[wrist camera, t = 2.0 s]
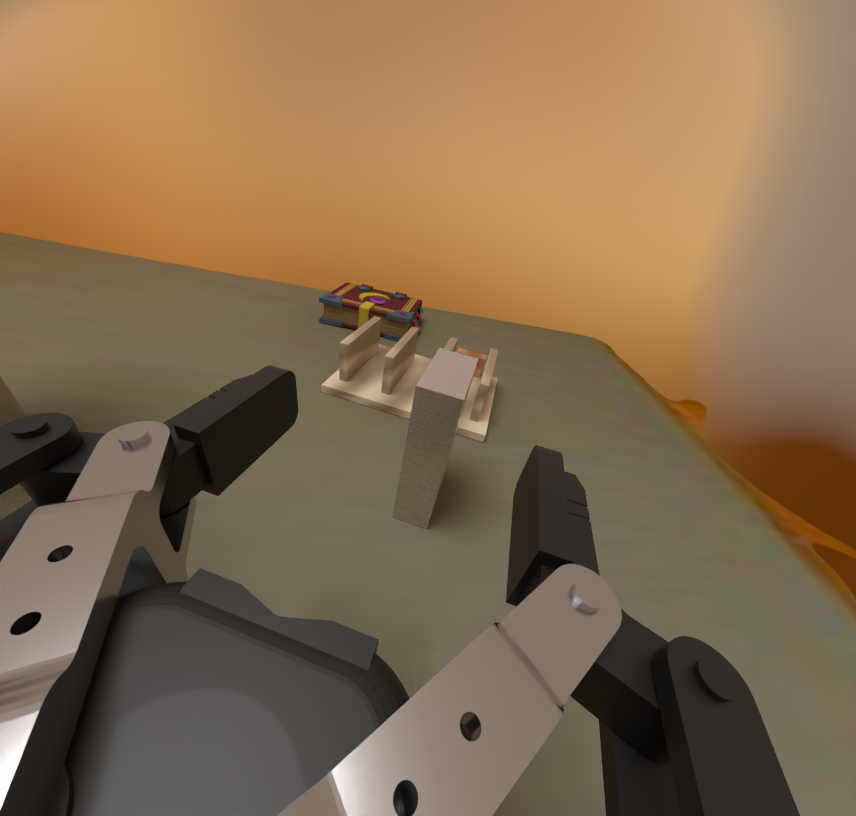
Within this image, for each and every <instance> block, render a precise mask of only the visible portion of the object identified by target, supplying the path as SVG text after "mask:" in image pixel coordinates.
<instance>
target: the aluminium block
mask: <svg viewBox="0 0 856 816" xmlns="http://www.w3.org/2000/svg"><path fill="white" fill-rule="evenodd" d="M477 362H478V358H475V357H471V356H468V355H464V354H461V353H457V352H454V351H450V350H447V349H443V348H439V349H438V351H437V353H436V354H435V356H434V357H433V359H432V361H431V362H430V364H429V365H428V367H427V369H426V370H425V372H424V373H423V375H422V377H421V378H420V380H419V381H418V383H417V385H416V387H415V393H414V399H413V404H412V410H411V416H410V421H409V427H408V432H407V438H406V444H405V449H404V455H403V461H402V466H401V472H400V477H399V483H398V489H397V494H396V500H395V506H394V511H393V517H394V518H397V519H399V520H402V521H405V522H408V523H411V524H414V525H416V526H419V527H422V528H425V529H427V527H428V524H429V521H430V518H431V515H432V512H433V509H434V506H435V502H436V499H437V496H438V493H439V490H440V487H441V484H442V481H443V478H444V474H445V471H446V468H447V464H448V461H449V457H450V454H451V451H452V447H453V444H454V440H455V437H456V434H457V430H458V427H459V423H460V420H461V417H462V413H463V410H464V406H465V403H466V400H467V396H468V393H469V389H470V386H471V383H472V379H473V376H474V372H475V369H476V366H477Z"/></svg>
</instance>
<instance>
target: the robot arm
mask: <svg viewBox="0 0 856 816" xmlns="http://www.w3.org/2000/svg"><path fill="white" fill-rule="evenodd" d="M297 415H298V402H297V390H296V378H295V375H294V373H293V372H291V371H288V370H285V369H281V368H278V367H274V366H271V365H269V366H266V367H264V368H263V369H261V370H260V371H258V372H257V373H255V374H253V375H250V376H246V377H243V378H240V379H237V380H234V381H232V382H230V383H229V384H227V385H225V386H224V387H222V388H220V391H218V390H217V391H216V392H214V393H212V394H211V395H209V397H208V398H207V397H206V398H204V399H202V400H201V401H199V402H197V403H196V404H194V405H192V406H191V407H189V408H188V409H186V410H184V411H183V412H181V413H179V414H178V415H176V416H174V417H173V418H171V419H169V420H168V421H166V422H164V423H160V422H155V421H140V422H134V423H129V424H126V425H123V426H120V427H118V428H115V429H113V430H112V431H110V432H108V433H107V434H102V433H87V432H79V430H78V429H77V427H76V425H75V424H74V422H73V420H72V419H71V418H70V417H69V416H67V415H64V414H58V413H44V414H36V415H31V416H27V415H26V413H25V412H24V410H23V409H22V407H21V406H20V404H19V403H18V401H17V400H16V399H15V397H14V396H13V394H12V392H11V391H10V389H9V388H8V386H7V385H6V384H5V382H4V381H3V379H2V378H1V376H0V494H2V493H3V492H5V491H7V490H8V489H10V488H12V487H14V486H15V485H17V484H19V483H20V485H21V486H22V487H23V488H24V489H25V491H26V492H27V493H28V494H29V496H30V497H31V498H32V499H33V500H32V501H30V502H29V503H27V504H25V505H24V506H22V507H21V508H19V509H18V510H16V511H15V512H13V513H11V514H10V515H8V516H7V517H5V518H4V519H2V520H1V521H0V816H492V815H493V814H494V812H495V811H496V810H497V808H498V807H499V805H500V804H501V802H502V801H503V800H504V798H505V797H506V795H507V794H508V793H509V791H510V790H511V788H512V787H513V786H514V784H515V783H516V781H517V780H518V779H519V777H520V776H521V774H522V773H523V771H524V770H525V769H526V767H527V766H528V764H529V763H530V762H531V760H532V759H533V757H534V756H535V755H536V753H537V752H538V750H539V749H540V748H541V746H542V745H543V743H544V742H545V740H546V739H547V738H548V736H549V735H550V733H551V732H552V731H553V729H554V728H555V726H556V725H557V723H558V722H559V720H560V718H561V716H562V714H563V712H564V709H563V706H564V704H565V702H566V701H567V699H568V698H569V696H571V697H572V698H573V699H575V700H576V701H577V702H578V703H580V704H581V705H582V706H583V707H585V708H586V709H587V710H588V711H589V712H591V713H592V714H593V715H594V716H596V717H597V718H598V719H599V727H600V740H601V753H602V766H603V780H604V793H605V806H606V816H800V815H799V812H798V810H797V807H796V804H795V802H794V799H793V797H792V794H791V792H790V789H789V787H788V784H787V781H786V779H785V776H784V774H783V771H782V769H781V766H780V764H779V761H778V759H777V756H776V753H775V751H774V748H773V746H772V743H771V741H770V738H769V736H768V733H767V730H766V728H765V725H764V723H763V720H762V718H761V715H760V713H759V710H758V708H757V705H756V702H755V700H754V698H753V696H752V693H751V691H750V690H749V688H748V686H747V684H746V683H745V681H744V680H743V678H742V677H741V675H740V674H739V673H738V672H737V670H736V669H735V668H734V667H733V666H732V665H731V664H730V663H729V662H728V660H727V659H725V658H724V657H723V656H722V655H721V654H720V653H719V652H717V651H716V650H715V649H713V648H712V647H711V646H709V645H707V644H706V643H704V642H702V641H700V640H698V639H695V638H692V637H687V636H680V637H677V638H674V639H673V640H672V641H670V642H667V641H666V640H664V639H663V638H661V637H660V636H658V635H657V634H655V633H654V632H652V631H651V630H649V629H648V628H646V627H645V626H643V625H642V624H640V623H639V622H637V621H636V620H634V619H633V618H632V617H630V616H629V615H627V614H626V613H625V612H624V611H623V610H622V609H621V607H620V604H619V601H618V599H617V597H616V595H615V594H614V592H613V590H612V589H611V588H610V586H609V585H608V584H607V583H606V582H605V581H604V580H603V579H602V578H601V577H600V575H599V570H598V564H597V559H596V553H595V547H594V541H593V535H592V529H591V523H590V522H589V519H590V518H589V512H588V509H587V500H586V494H585V490H584V488H583V487H582V485H581V483H580V482H579V480H578V478H577V477H576V475H574V474H571V473H568V472H564V466H563V456H562V453H561V452H557V451H554V450H551V449H547V448H544V447H541V446H537V445H536V446H535V447H534V448H533V450H532V452H531V454H530V456H529V458H528V460H527V462H526V465H525V467H524V469H523V471H522V473H521V475H520V477H519V480H518V482H517V485H516V488H515V493H514V498H513V511H512V525H511V539H510V553H509V567H508V582H507V596H506V603H509V604H512V605H514V606H517V607H516V608H515V609H513V610H512V611H511V612H510V613H509V614H508V615H507V616H506V617H505V618H504V619H503V620H501V621H500V622H499V623H494V624H492V625H491V626H489V627H488V628H487V629H486V630H485V631H483V632H482V633H481V634H480V635H479V636H478V637H477V638H476V639H475V640H474V641H472V642H471V643H470V644H469V645H468V646H467V647H466V648H465V649H464V650H463V651H462V652H460V653H459V654H458V655H457V656H456V657H455V658H454V659H453V660H452V661H451V662H450V663H448V664H447V665H446V666H445V667H444V668H443V669H442V670H441V671H440V672H439V673H438V674H436V675H435V676H434V677H433V678H432V679H431V680H430V681H429V682H428V683H427V684H426V685H424V686H423V687H422V688H421V689H420V690H419V691H418V692H417V693H416V694H415V695H413V696H412V697H411V698H409V696H408V694H407V692H406V690H405V688H404V686H403V685H402V683H401V681H400V680H399V678H398V677H397V676H396V674H395V673H394V671H393V670H392V669H391V668H390V667H389V666H388V664H387V663H386V662H385V661H384V660H382V659H381V658H380V657H379V656H378V655H377V654H376V651H377V646H378V639H375V638H373V637H370V636H368V635H365V634H363V633H360V632H358V631H355V630H353V629H350V628H348V627H345V626H343V625H340V624H338V623H335V622H333V621H324V620H312V619H300V618H287V617H279V616H277V615H275V614H274V613H272V612H271V611H270V610H269V609H268V608H267V607H266V606H264V605H263V604H262V603H261V602H260V601H259V600H258V599H257V598H256V597H254V596H253V595H252V594H251V593H250V592H249V591H248V590H247V589H245V588H244V587H243V586H242V585H241V584H238V583H236V582H233V581H231V580H228V579H226V578H223V577H221V576H218V575H216V574H213V573H211V572H208V571H206V570H203V569H201V568H199V570H198V571H197V572H196V573H195V574H194V575H193V576H192V577H191V578H190V580H189V581H187V573H186V556H187V551H188V545H189V540H190V535H191V529H192V524H193V518H194V513H195V508H196V499H195V496H196V495H197V494H198V493H199V492H200V491H201V490H203V491H206V492H209V493H211V494H214V495H217V496H219V495H220V494H221V493H222V492H223V491H224V490H225V489H226V488H227V487H228V486H229V485H230V484H231V483H232V482H233V481H234V480H236V479H237V478H238V477H239V476H240V475H241V474H242V473H243V472H244V471H245V470H246V469H247V468H248V467H249V466H250V465H251V464H253V463H254V462H255V461H256V460H257V459H258V458H259V457H260V456H261V455H262V454H263V453H264V452H265V451H266V450H267V449H268V448H270V447H271V446H272V445H273V444H274V443H275V442H276V441H277V440H278V439H279V438H280V437H281V436H282V435H283V434H284V433H285V432H287V431H288V430H289V429H290V428H291V427H292V426H293V424H294V423H295V421H296V418H297Z"/></svg>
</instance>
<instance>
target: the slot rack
mask: <svg viewBox="0 0 856 816" xmlns="http://www.w3.org/2000/svg"><path fill="white" fill-rule="evenodd" d="M380 329H381V318H380V317H377V316H374V317H373V318H372V319H370V320H369V321H368V322H366V323H365V324H364V325H362V326H361V327H360V328H358V329H357V330H356V331H355V332H353V333H352V334H351V335H349V336H348V337H347V338H345V339H344V340H343V341H341V342H340V369H338V370H337V371H336V372H335V373H334V374H333V375H332V376H331V377H330V378H328V379H327V380H326V381H325V382H324V383H323V384H322V385H321V386H322V392H324V393H327V394H331V395H334V396H337V397H340V398H343V399H347V400H350V401H353V402H356V403H359V404H362V405H366V406H369V407H372V408H375V409H378V410H382V411H385V412H388V413H391V414H394V415H398V416H401V417H404V418H407V419H410V416H411V410H412V404H413V399H414V393H415V387H416V385H417V383H418V381H419V380H420V378H421V377H422V375H423V373H424V372H425V370H426V369H427V367H428V365H429V364H430V362H431V361H432V359H430V358H426V357H423V356H419V355H416V354H415V351H416V345H417V339H418V333H419V328H416V327H413V326H412V327H411V328H410V329H409V330H408V332H407V333H406V334H405V335H404V336H403V337H402V338H401V339H400V340H399V341H398V342H397V343H396V344H395V346H394V347H393V348H391V347H388V346H384V345H381V344H379V340H380ZM457 341H458V339H456V338H453V337H451V338H450V339H449V341H448V343H447V344H446V346H445V348H444V349H447V350H450V351H454V352H455V350H456V345H457ZM457 353H461V354H464V355H468V356H471V357H475V358H478V362H477V366H476V369H475V372H474V376H473V379H472V383H471V386H470V389H469V393H468V396H467V400H466V403H465V406H464V410H463V413H462V417H461V420H460V423H459V427H458V430H457V434H458V435H461V436H465V437H468V438H471V439H474V440H477V441H480V442H484V439H485V436H486V432H487V427H488V422H489V417H490V412H491V408H492V403H493V398H494V393H495V388H496V384H497V379H498V378H496V377H492V373H493V369H494V365H495V361H496V357H497V353H498V350H496V349H492V348H491V349H490V352H489V355H488V358H487V362H486V365H485V368H484V371H483V374H482V373H481V372H482V368H483V365H484V362H485V359H486V355H483V354H480V353H476V352H473V351H469V350H465V349H462V348H459V349H458V351H457Z"/></svg>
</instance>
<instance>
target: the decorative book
mask: <svg viewBox="0 0 856 816" xmlns="http://www.w3.org/2000/svg"><path fill="white" fill-rule="evenodd" d="M319 302H321V303H324V315H323V316H322V317H321V318H320V323H324V324H329V325H333V326H337V327H342V326H343V327H347V328H351V329H355V330H357V329H358V328H360V327H361V326H362V325H364V324H365V323H366V322H368V321H369V320H370V319H372V318H373V317H374V316H377V317H380V318H381V329H380V336H384V338H387V339H391V340H395V341H399V340H400V339H401V338H402V337H403V336H404V335H405V334H406V333H407V332H408V330H409V329H410V328H411V327H412V326H413V327H416V328H419V329H420V327H419V326H418V325H417V323H418V322H420V320H421V315H420V311H421V314H422V312H423V311H422V308H421V304H422V300H418V299H414V298H409V297H407V295H406V294H402V293H398V292H396V293H395V294H393V293H388V292H384V291H380V290H376V289H373V287H372V286H368V285H361V286H359V285H354V284H350V283H345V284H343V285H342V286H340V287H339V288H337V289H335V290H334V291H332V292H331V293H330V292H328V293H326V294H325V295H323V296H321V297H319Z"/></svg>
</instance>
